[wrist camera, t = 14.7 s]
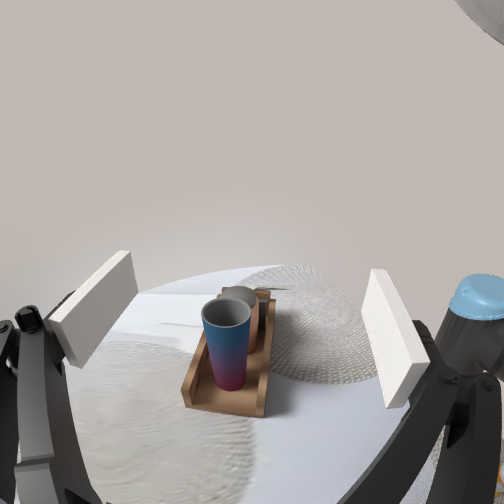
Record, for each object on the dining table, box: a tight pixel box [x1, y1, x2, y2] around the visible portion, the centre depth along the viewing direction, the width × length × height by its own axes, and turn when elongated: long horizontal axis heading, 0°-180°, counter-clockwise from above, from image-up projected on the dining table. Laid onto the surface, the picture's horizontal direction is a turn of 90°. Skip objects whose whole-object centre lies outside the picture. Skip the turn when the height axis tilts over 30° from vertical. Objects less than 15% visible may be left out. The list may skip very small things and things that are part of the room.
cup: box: [201, 297, 251, 391], centre depth 41 cm, size 7×7×15 cm
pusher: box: [219, 295, 267, 330], centre depth 55 cm, size 1×9×9 cm, turn 83°
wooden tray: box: [181, 287, 276, 418], centre depth 49 cm, size 26×12×7 cm, turn 173°
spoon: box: [244, 285, 297, 290], centre depth 72 cm, size 4×21×2 cm, turn 100°
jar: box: [220, 286, 259, 354], centre depth 51 cm, size 7×7×11 cm
